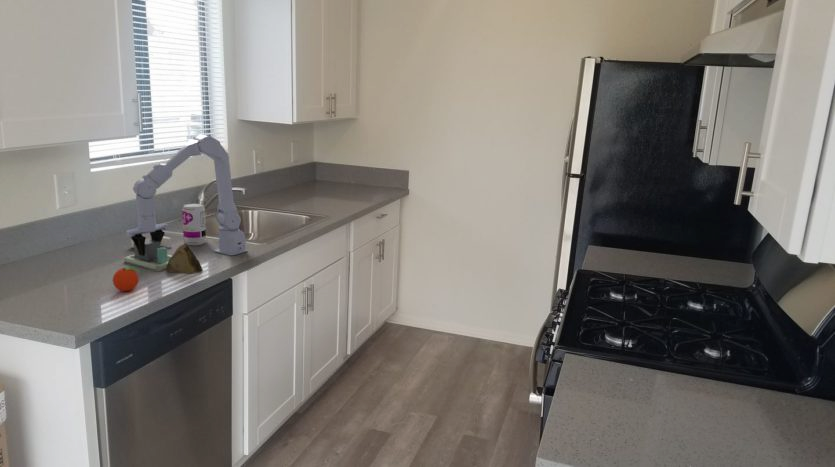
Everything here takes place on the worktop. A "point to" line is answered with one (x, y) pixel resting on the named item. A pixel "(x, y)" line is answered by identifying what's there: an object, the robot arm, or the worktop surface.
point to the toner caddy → (152, 252)
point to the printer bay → (164, 242)
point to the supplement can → (194, 224)
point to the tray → (146, 263)
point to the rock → (184, 261)
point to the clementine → (125, 279)
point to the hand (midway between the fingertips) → (149, 253)
